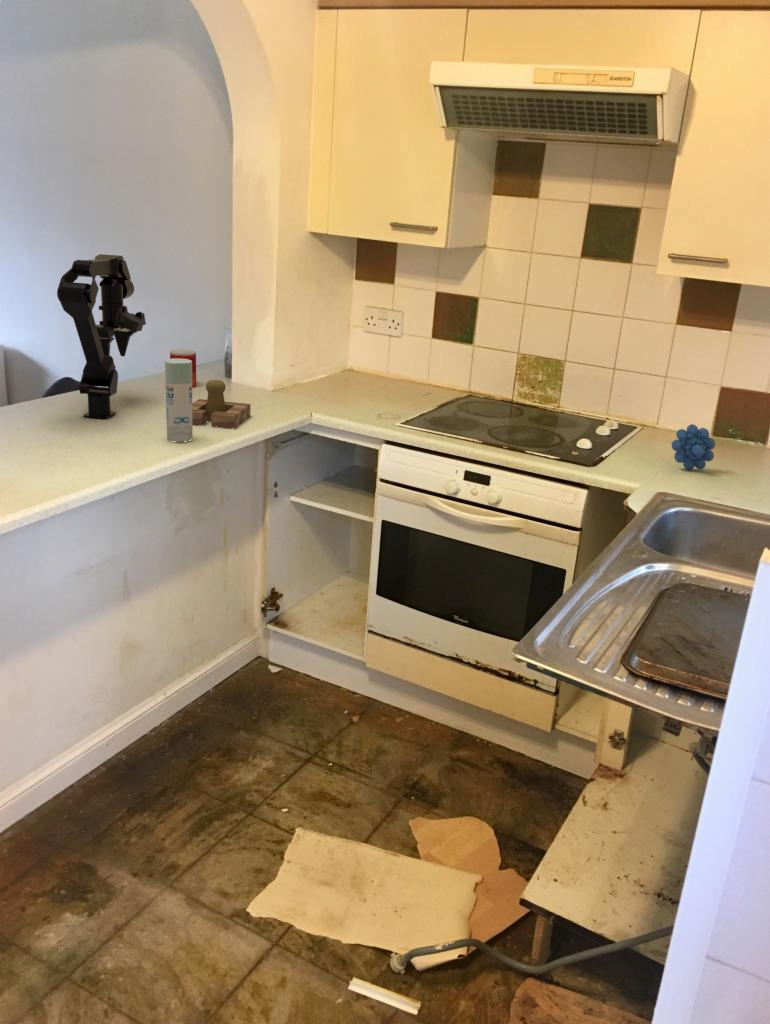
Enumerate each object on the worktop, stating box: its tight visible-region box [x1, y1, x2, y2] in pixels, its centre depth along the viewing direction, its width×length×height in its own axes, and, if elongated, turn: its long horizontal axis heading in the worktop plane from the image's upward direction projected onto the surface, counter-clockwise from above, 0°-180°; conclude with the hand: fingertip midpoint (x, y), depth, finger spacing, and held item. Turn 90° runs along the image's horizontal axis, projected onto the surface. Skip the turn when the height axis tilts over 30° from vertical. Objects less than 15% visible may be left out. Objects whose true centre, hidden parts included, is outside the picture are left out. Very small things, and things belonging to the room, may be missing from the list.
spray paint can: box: [164, 358, 193, 442], centre depth 216 cm, size 6×6×20 cm
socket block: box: [192, 398, 251, 429], centre depth 239 cm, size 15×15×4 cm
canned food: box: [169, 348, 197, 388], centre depth 274 cm, size 8×8×11 cm
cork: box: [205, 379, 226, 421], centre depth 238 cm, size 6×6×11 cm
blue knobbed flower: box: [671, 423, 716, 471], centre depth 221 cm, size 12×7×12 cm, turn 95°
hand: (114, 358), depth 244 cm, fingers open, 9 cm apart
